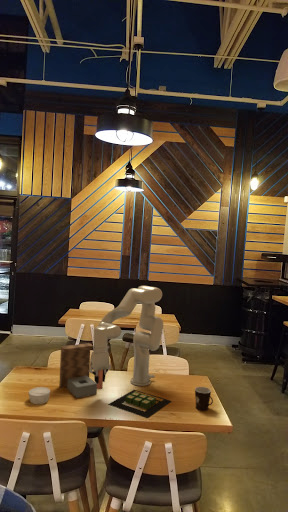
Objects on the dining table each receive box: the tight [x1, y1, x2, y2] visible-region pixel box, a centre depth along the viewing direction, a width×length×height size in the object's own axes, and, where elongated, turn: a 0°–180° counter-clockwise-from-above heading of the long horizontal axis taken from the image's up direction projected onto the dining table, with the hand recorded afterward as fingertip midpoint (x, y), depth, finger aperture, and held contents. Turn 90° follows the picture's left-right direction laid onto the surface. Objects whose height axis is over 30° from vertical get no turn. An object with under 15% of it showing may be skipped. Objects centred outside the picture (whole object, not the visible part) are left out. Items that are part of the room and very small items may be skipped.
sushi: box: [107, 389, 172, 419], centre depth 204 cm, size 25×25×4 cm
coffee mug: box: [194, 386, 214, 412], centre depth 200 cm, size 12×9×10 cm
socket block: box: [66, 376, 98, 399], centre depth 216 cm, size 12×14×6 cm
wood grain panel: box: [58, 342, 94, 389], centre depth 223 cm, size 18×6×24 cm, turn 123°
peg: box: [97, 370, 104, 390], centre depth 207 cm, size 3×3×12 cm
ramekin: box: [28, 386, 51, 405], centre depth 201 cm, size 11×11×5 cm
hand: (99, 381), depth 207 cm, fingers closed on peg, 3 cm apart
